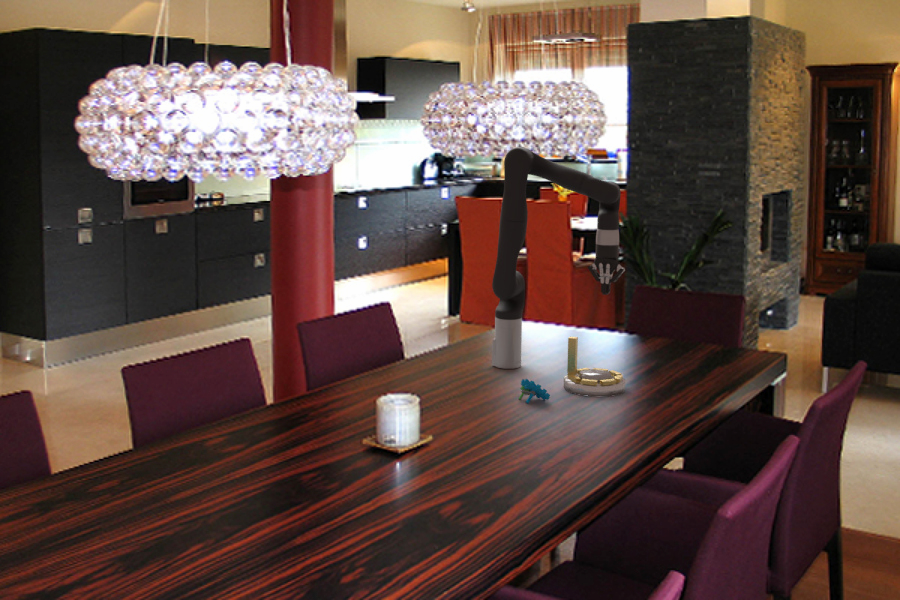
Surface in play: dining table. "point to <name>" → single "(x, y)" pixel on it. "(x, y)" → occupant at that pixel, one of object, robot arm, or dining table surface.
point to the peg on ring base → (574, 371)
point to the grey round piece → (594, 389)
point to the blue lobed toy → (532, 390)
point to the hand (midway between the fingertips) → (605, 294)
